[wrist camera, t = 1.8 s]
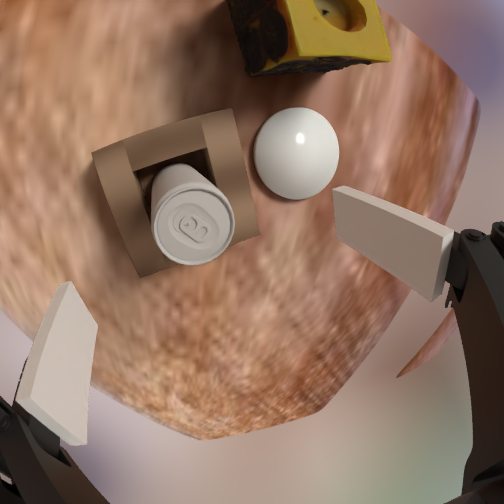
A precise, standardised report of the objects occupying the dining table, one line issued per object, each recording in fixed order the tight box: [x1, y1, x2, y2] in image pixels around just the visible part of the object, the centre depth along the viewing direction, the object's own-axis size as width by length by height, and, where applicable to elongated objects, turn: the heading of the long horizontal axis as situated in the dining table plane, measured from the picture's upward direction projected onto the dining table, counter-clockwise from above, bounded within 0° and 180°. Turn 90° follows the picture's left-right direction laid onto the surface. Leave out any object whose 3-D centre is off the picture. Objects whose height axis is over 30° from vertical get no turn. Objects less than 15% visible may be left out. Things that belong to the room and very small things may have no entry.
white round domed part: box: [253, 107, 339, 200], centre depth 27 cm, size 10×10×1 cm
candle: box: [227, 0, 392, 77], centre depth 17 cm, size 10×10×10 cm
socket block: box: [92, 108, 260, 278], centre depth 23 cm, size 12×12×4 cm
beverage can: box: [151, 163, 235, 265], centre depth 20 cm, size 5×5×12 cm
